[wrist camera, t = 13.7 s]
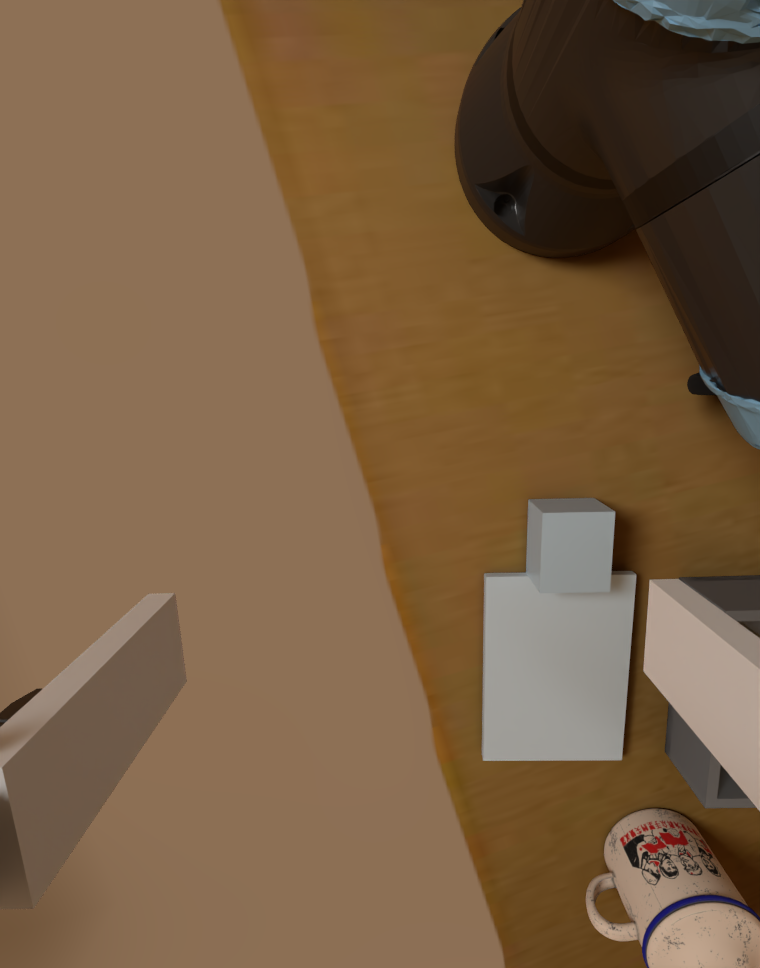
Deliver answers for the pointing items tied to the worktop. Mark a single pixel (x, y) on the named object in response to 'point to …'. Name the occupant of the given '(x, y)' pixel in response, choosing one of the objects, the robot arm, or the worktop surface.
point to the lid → (558, 641)
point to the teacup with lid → (674, 896)
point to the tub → (743, 601)
